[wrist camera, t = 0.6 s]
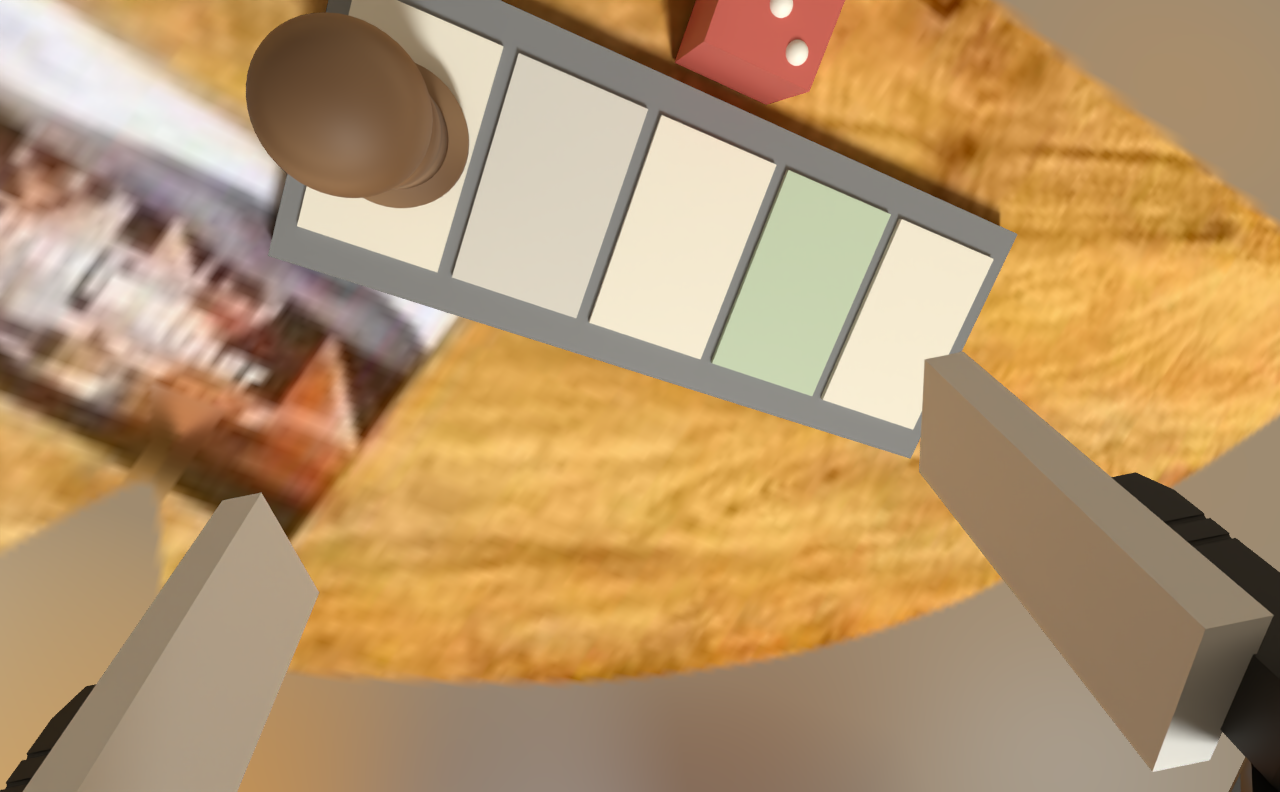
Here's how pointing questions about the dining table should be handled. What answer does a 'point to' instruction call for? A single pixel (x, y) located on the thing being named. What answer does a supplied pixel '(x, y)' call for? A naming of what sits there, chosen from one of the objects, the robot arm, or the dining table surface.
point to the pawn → (355, 113)
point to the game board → (660, 231)
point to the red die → (759, 44)
